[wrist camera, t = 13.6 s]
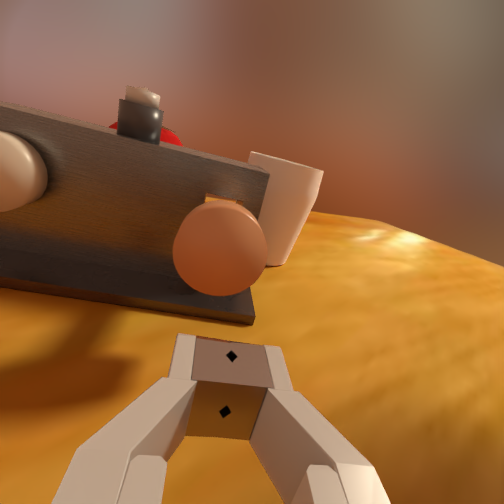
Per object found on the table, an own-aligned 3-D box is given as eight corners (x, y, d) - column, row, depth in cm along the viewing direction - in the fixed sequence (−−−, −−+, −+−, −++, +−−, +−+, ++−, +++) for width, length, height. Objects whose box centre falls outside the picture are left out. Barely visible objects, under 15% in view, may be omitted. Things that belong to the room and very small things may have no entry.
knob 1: (31, 219, 19) (29, 142, 18) (-55, 202, 18) (-66, 119, 17) (89, 193, 28) (92, 140, 26) (33, 181, 27) (32, 125, 25)
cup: (274, 278, 31) (308, 168, 27) (212, 247, 35) (233, 147, 31) (304, 261, 39) (334, 173, 35) (250, 237, 43) (272, 156, 39)
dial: (165, 145, 23) (171, 95, 21) (121, 135, 21) (126, 80, 20) (152, 139, 25) (158, 94, 24) (112, 130, 23) (116, 80, 22)
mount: (252, 325, 22) (294, 185, 18) (-98, 271, 18) (-136, 77, 14) (243, 269, 31) (270, 169, 28) (10, 226, 27) (4, 100, 24)
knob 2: (254, 302, 16) (278, 220, 15) (166, 287, 16) (180, 198, 14) (243, 245, 25) (257, 189, 23) (185, 234, 24) (196, 174, 22)
